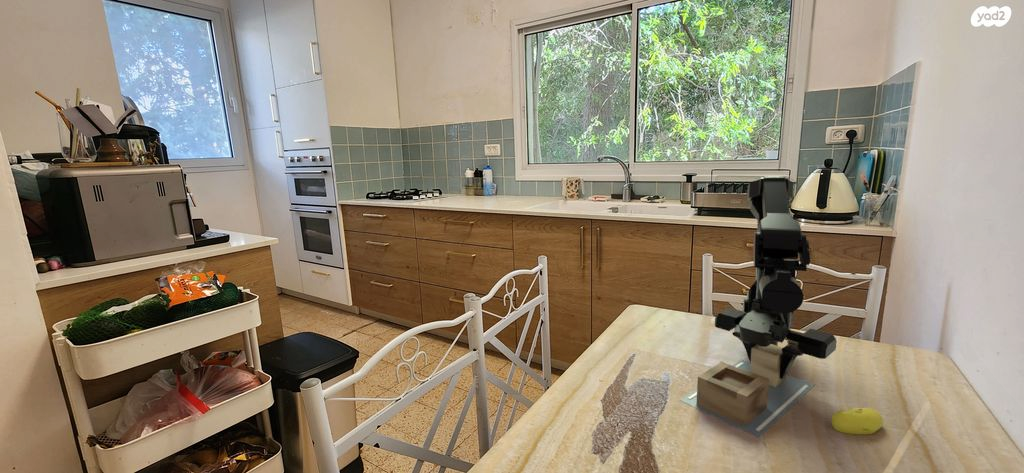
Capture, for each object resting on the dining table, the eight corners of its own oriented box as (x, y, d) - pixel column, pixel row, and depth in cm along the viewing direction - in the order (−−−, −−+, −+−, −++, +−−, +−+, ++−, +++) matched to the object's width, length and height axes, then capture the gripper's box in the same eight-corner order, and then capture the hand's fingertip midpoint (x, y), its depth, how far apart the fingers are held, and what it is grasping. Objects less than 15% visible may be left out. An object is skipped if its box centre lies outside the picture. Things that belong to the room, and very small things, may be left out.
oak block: (760, 369, 84) (762, 341, 83) (785, 378, 80) (788, 349, 79) (749, 377, 81) (751, 348, 80) (775, 387, 77) (777, 356, 76)
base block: (719, 388, 78) (721, 361, 77) (766, 407, 72) (769, 379, 71) (696, 404, 73) (697, 376, 72) (744, 426, 67) (746, 396, 66)
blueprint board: (741, 362, 88) (742, 358, 88) (814, 388, 78) (815, 383, 78) (679, 404, 75) (679, 399, 74) (758, 441, 64) (758, 436, 64)
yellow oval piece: (821, 425, 68) (824, 403, 67) (868, 421, 68) (871, 399, 68) (843, 442, 64) (846, 419, 63) (893, 438, 64) (896, 415, 63)
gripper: (701, 292, 80) (698, 368, 83) (817, 320, 65) (808, 411, 68) (730, 280, 87) (726, 351, 90) (842, 303, 72) (832, 387, 75)
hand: (767, 373), depth 80 cm, fingers closed on oak block, 4 cm apart
